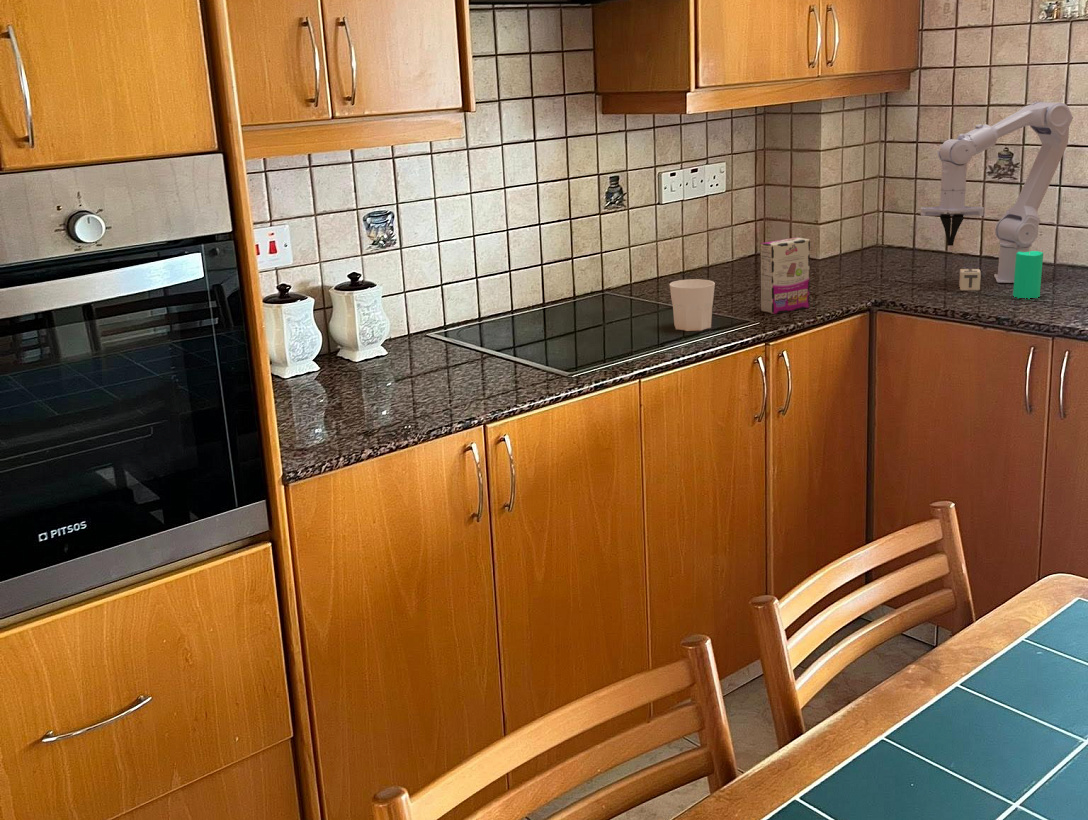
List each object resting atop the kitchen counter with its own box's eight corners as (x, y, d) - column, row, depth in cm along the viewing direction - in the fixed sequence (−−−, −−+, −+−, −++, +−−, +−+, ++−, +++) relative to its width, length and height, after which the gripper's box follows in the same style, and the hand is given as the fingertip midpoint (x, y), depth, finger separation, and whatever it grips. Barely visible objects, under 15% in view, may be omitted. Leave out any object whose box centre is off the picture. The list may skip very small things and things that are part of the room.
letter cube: (959, 286, 291) (960, 268, 290) (978, 286, 290) (979, 268, 289) (960, 290, 287) (961, 272, 286) (979, 290, 286) (980, 272, 284)
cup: (668, 322, 268) (668, 280, 265) (712, 321, 267) (712, 278, 265) (672, 332, 258) (671, 289, 255) (717, 331, 258) (717, 287, 255)
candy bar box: (796, 304, 280) (797, 236, 275) (810, 308, 275) (811, 239, 271) (758, 311, 275) (759, 242, 270) (772, 314, 271) (773, 244, 266)
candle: (1041, 295, 277) (1045, 244, 274) (1037, 299, 272) (1041, 249, 269) (1015, 293, 280) (1018, 243, 277) (1010, 298, 276) (1014, 247, 272)
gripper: (922, 192, 283) (919, 247, 287) (986, 191, 279) (982, 247, 283) (921, 188, 289) (918, 243, 293) (983, 187, 285) (980, 242, 289)
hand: (950, 245), depth 289 cm, fingers closed
